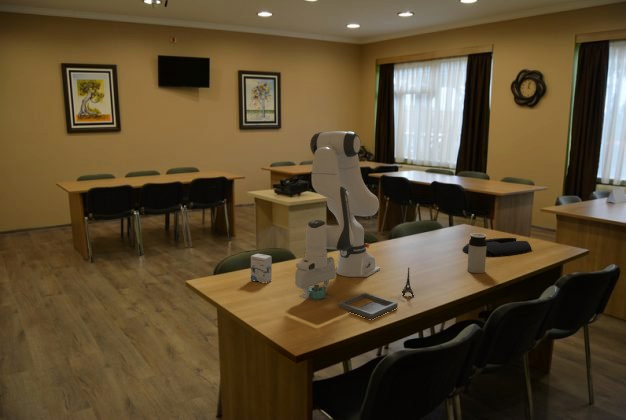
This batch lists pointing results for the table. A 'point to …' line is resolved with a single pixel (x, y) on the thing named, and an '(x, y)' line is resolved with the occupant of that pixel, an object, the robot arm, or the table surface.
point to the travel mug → (477, 253)
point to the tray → (369, 306)
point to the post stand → (316, 288)
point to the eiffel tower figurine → (407, 289)
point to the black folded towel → (503, 247)
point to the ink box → (261, 268)
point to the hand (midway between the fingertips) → (316, 293)
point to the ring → (317, 293)
